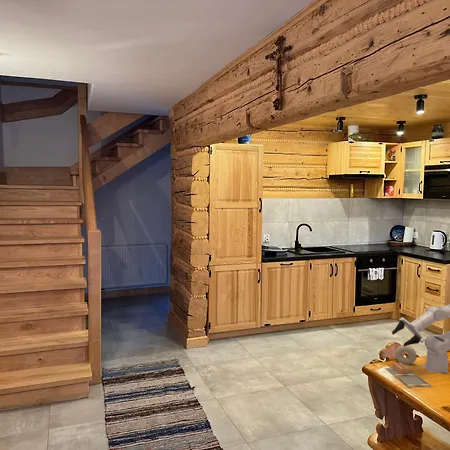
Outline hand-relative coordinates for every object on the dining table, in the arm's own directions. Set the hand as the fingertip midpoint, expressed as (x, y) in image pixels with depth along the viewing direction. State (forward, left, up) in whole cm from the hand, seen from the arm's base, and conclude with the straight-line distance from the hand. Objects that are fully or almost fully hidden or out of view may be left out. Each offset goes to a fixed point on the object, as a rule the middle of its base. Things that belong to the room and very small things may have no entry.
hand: (398, 339), depth 208 cm
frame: (-2, +11, -16) cm, 20 cm away
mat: (-2, +7, -16) cm, 18 cm away
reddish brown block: (-2, +1, -16) cm, 16 cm away
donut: (-10, -8, -16) cm, 21 cm away
